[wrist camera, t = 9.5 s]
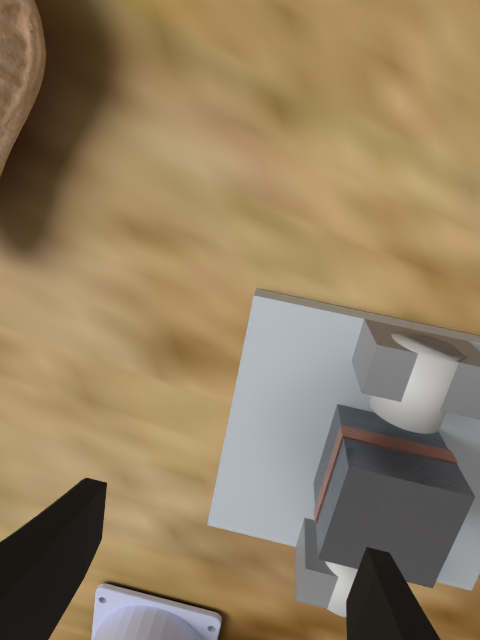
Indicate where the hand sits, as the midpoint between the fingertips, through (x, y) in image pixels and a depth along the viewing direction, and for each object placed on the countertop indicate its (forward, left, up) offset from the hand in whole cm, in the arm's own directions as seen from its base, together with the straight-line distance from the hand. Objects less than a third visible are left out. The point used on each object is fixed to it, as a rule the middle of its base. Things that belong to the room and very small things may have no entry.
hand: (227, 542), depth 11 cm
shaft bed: (-2, -6, -10) cm, 12 cm away
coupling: (-2, -6, -9) cm, 11 cm away
